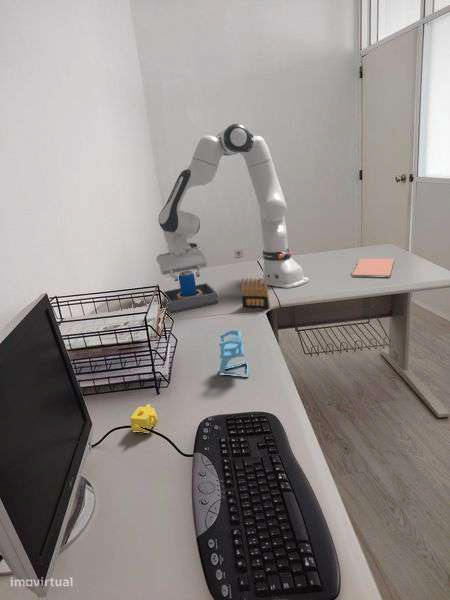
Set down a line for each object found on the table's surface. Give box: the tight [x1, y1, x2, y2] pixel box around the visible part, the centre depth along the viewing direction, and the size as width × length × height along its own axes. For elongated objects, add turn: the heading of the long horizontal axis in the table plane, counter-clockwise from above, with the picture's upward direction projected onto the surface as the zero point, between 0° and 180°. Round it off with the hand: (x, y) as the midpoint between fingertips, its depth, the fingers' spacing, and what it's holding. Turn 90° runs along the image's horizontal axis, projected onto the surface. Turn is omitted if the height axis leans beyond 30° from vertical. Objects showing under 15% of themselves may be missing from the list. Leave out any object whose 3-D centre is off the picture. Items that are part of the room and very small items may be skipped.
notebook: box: [350, 257, 395, 277], centre depth 189 cm, size 27×17×2 cm, turn 155°
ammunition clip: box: [241, 278, 271, 310], centre depth 157 cm, size 11×2×12 cm, turn 69°
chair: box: [218, 330, 250, 375], centre depth 112 cm, size 8×8×12 cm
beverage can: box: [178, 270, 197, 297], centre depth 171 cm, size 6×6×12 cm
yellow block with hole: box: [129, 404, 159, 432], centre depth 93 cm, size 8×6×5 cm
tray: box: [162, 282, 219, 314], centre depth 172 cm, size 16×20×4 cm
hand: (187, 278), depth 169 cm, fingers open, 8 cm apart
